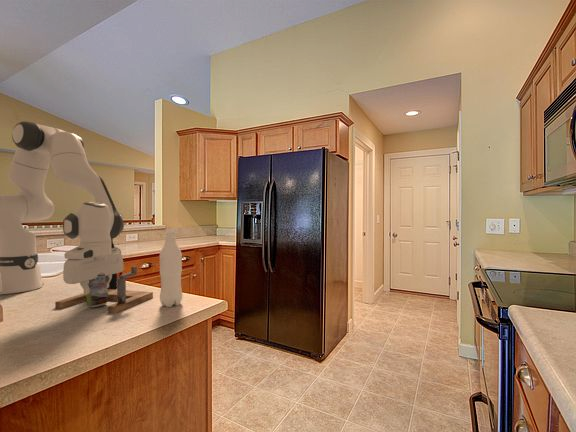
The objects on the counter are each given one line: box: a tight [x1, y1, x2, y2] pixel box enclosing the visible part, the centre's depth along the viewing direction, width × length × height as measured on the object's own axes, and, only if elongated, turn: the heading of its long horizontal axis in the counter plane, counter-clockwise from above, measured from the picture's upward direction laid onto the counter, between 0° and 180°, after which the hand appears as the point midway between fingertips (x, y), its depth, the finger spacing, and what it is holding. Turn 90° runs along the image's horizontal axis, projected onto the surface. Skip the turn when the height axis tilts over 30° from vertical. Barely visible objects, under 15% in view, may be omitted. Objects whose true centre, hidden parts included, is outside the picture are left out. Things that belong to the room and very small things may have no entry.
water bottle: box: [158, 230, 183, 308], centre depth 98 cm, size 7×7×25 cm
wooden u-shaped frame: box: [54, 289, 154, 314], centre depth 102 cm, size 24×17×2 cm
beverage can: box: [86, 273, 110, 308], centre depth 98 cm, size 6×7×12 cm
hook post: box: [116, 265, 138, 304], centre depth 97 cm, size 2×7×13 cm, turn 167°
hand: (96, 290), depth 98 cm, fingers closed on beverage can, 5 cm apart
